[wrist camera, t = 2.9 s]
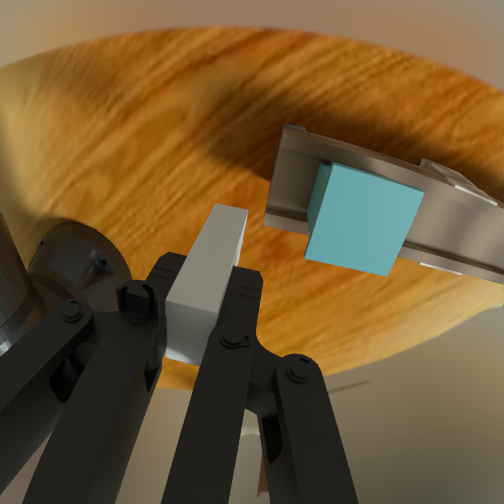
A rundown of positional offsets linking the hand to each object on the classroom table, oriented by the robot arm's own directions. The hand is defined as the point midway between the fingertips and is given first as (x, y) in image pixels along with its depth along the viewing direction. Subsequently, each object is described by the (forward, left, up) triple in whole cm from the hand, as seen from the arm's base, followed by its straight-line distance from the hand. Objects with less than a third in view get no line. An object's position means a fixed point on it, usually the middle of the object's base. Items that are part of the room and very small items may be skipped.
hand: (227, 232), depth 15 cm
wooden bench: (+18, 0, -16) cm, 24 cm away
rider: (+8, 0, -9) cm, 12 cm away
